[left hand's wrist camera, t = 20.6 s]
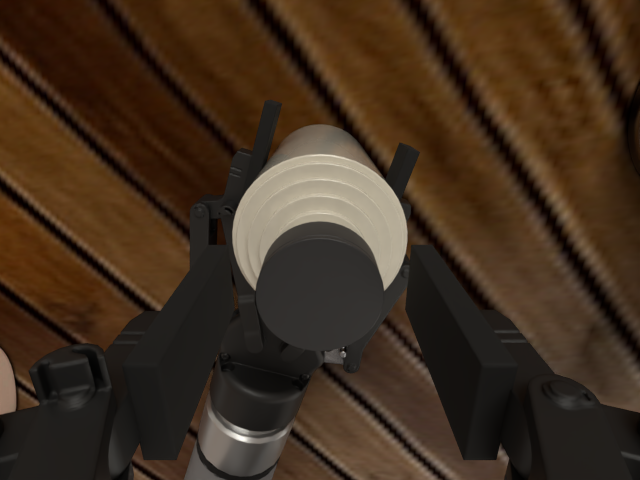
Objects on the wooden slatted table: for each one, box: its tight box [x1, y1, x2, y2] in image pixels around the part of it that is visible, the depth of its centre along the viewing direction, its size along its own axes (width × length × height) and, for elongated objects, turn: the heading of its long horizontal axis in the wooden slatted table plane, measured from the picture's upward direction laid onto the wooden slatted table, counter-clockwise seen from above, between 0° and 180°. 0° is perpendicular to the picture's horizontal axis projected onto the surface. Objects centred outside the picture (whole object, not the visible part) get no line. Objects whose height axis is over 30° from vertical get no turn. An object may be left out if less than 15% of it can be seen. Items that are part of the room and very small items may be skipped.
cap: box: [255, 221, 384, 351], centre depth 14 cm, size 4×4×2 cm
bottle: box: [232, 125, 407, 291], centre depth 22 cm, size 8×8×19 cm
